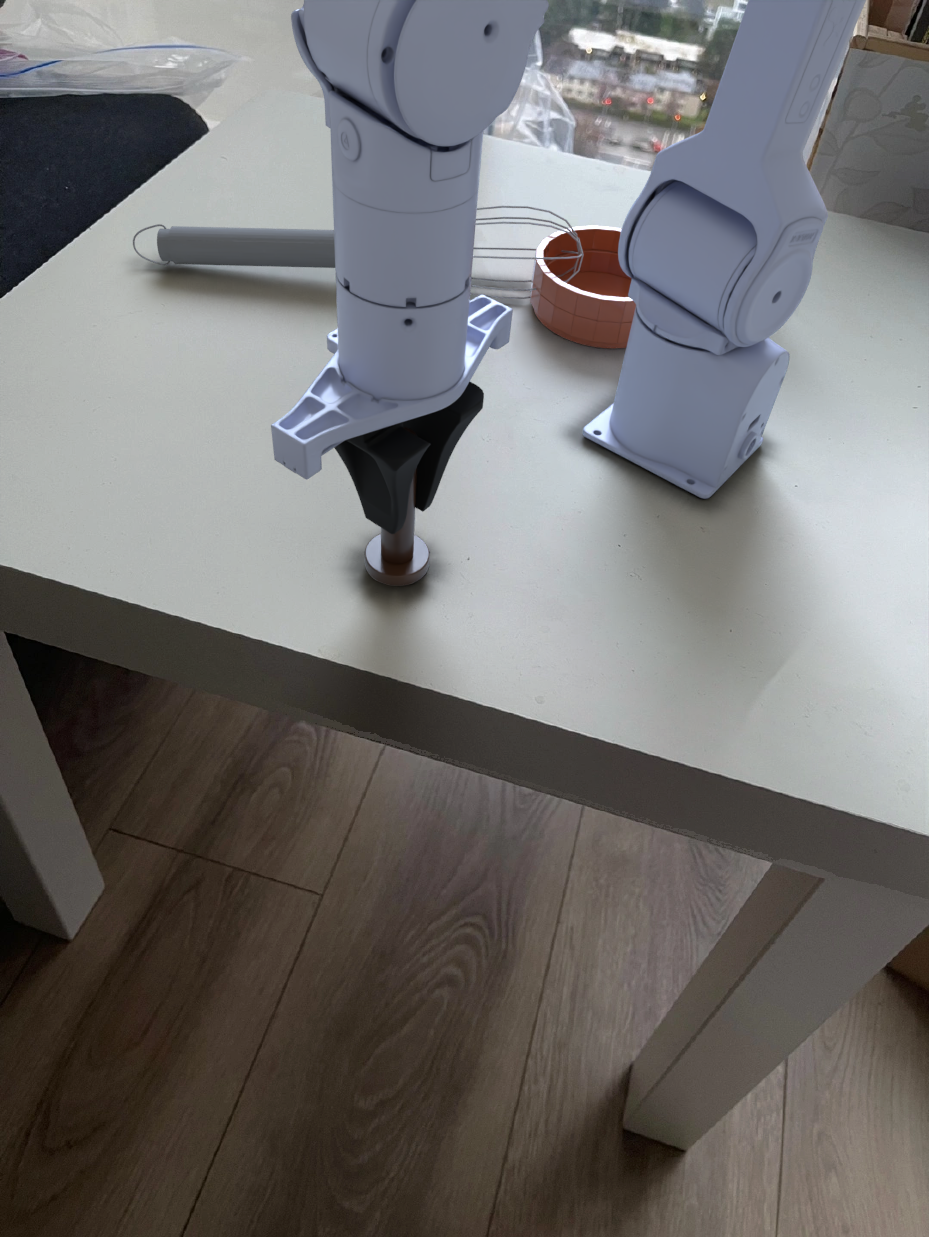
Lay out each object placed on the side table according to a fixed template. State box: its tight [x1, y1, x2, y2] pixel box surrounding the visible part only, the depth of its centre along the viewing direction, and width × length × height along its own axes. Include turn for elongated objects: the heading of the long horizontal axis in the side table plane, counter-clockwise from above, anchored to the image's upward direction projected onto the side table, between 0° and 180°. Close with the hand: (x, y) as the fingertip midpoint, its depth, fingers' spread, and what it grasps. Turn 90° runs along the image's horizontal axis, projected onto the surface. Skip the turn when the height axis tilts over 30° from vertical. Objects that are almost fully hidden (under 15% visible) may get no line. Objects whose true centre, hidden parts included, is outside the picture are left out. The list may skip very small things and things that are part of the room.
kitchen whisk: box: [132, 205, 584, 300], centre depth 71 cm, size 6×34×6 cm, turn 88°
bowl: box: [529, 224, 636, 350], centre depth 71 cm, size 11×11×4 cm
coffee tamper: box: [364, 427, 431, 587], centre depth 50 cm, size 4×4×9 cm
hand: (398, 511), depth 50 cm, fingers closed on coffee tamper, 2 cm apart
